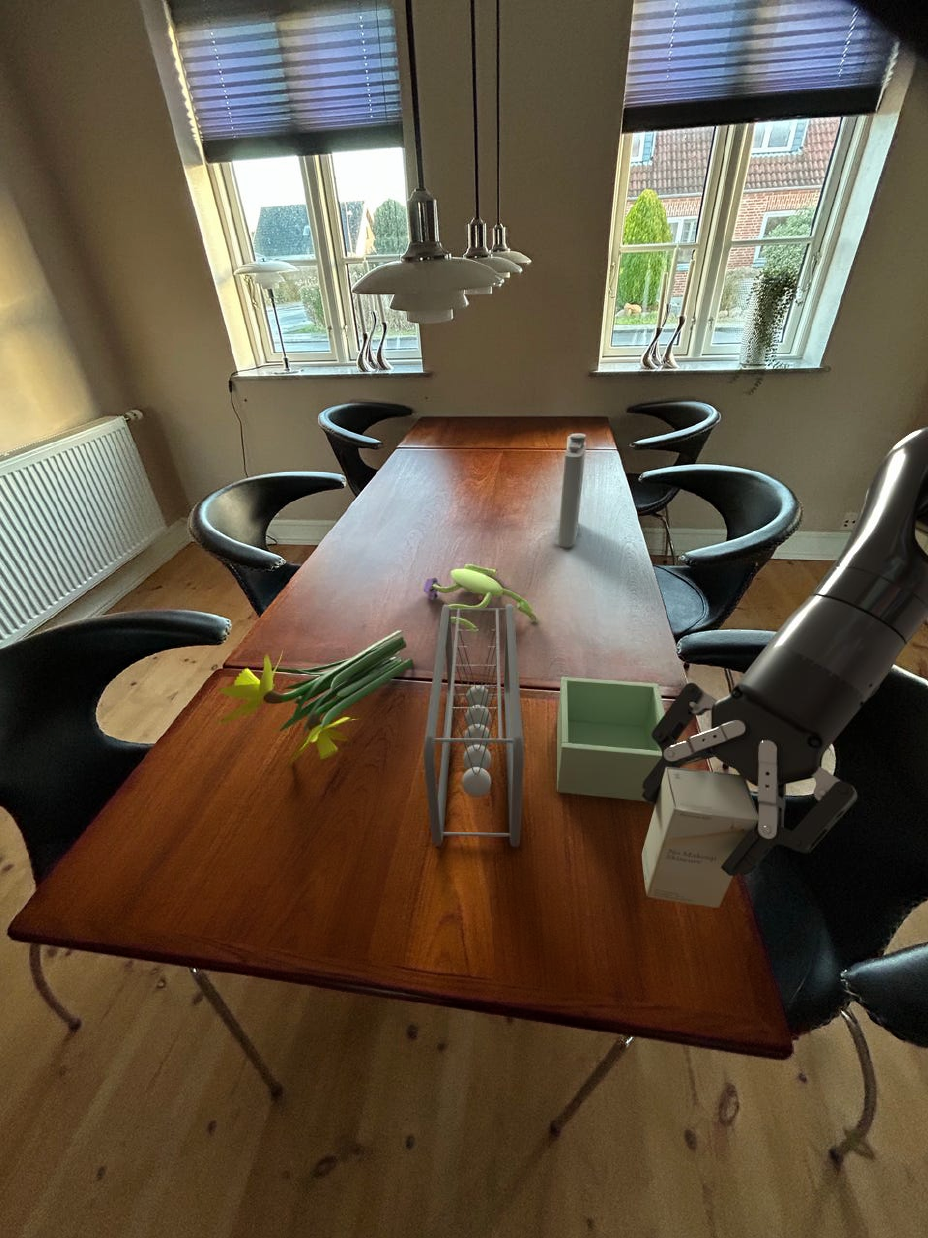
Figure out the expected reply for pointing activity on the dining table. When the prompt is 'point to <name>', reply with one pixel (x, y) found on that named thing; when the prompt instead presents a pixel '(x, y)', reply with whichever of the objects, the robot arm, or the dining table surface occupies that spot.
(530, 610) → the figurine
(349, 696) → the daffodil flowers
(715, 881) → the cosmetic box
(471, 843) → the dining table surface
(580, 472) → the flask
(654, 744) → the open square storage box
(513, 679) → the newton's cradle
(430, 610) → the dining table surface
